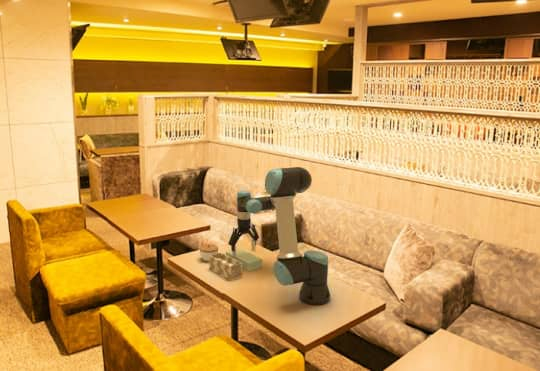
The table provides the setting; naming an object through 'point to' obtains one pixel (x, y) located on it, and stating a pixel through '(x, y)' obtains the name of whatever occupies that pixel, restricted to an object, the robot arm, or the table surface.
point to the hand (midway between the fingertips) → (244, 253)
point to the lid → (246, 259)
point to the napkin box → (225, 266)
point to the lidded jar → (208, 251)
